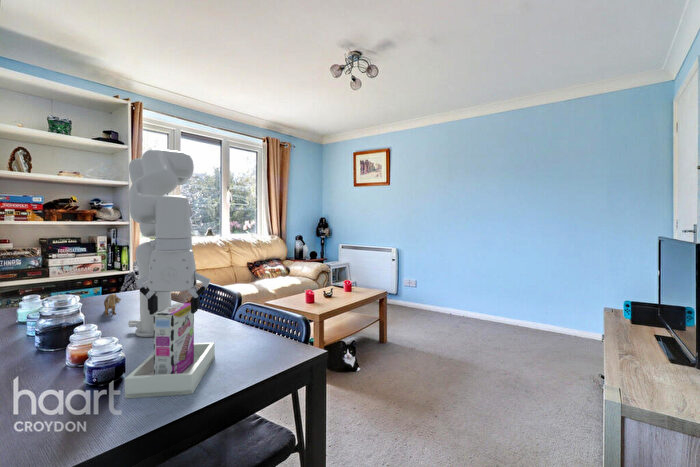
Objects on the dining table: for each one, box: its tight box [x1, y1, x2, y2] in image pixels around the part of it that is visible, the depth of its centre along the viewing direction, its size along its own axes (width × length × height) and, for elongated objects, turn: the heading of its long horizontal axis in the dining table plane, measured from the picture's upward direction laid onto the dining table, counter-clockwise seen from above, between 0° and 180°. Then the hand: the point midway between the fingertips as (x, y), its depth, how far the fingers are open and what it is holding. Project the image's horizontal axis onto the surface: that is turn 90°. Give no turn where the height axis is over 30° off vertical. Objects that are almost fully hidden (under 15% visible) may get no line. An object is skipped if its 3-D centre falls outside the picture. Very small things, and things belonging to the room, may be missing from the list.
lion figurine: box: [103, 293, 122, 317], centre depth 140 cm, size 15×5×9 cm, turn 46°
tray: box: [124, 341, 216, 399], centre depth 85 cm, size 14×20×4 cm
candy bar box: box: [153, 302, 195, 375], centre depth 85 cm, size 11×5×16 cm, turn 0°
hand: (174, 312), depth 85 cm, fingers open, 9 cm apart
